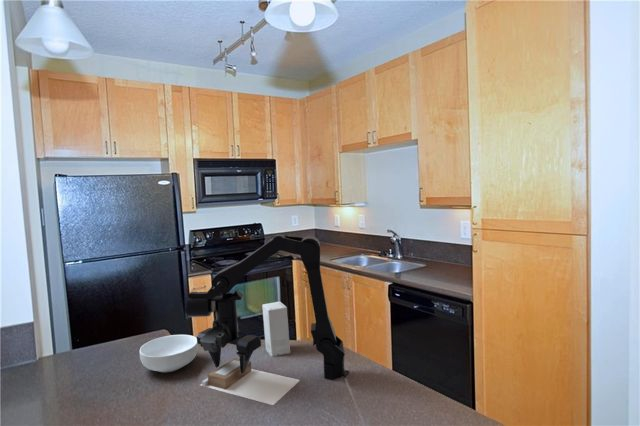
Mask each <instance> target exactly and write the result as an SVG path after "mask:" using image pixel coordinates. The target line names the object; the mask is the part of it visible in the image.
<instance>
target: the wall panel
mask: <svg viewBox="0 0 640 426" xmlns="http://www.w3.org/2000/svg"><path fill="white" fill-rule="evenodd" d="M300 381H301V380H300V379H297V378H293V377H288V376H284V375H279V374H276V373H271V372H266V371H262V370H258V369H253V368H251V372H249V373H248V374H247V375H245V376H244V377H242V378H241V379H240V380H238V381H237V382H235V383H234V384H233V385H231V386H230V387H228V388H227V389H226V390H225V389H221V388H218V387H214V386H210V385H208V377H206V378H205V379H203V380H202V381H201V384H200V386H202V387H204V388H205V387H206V388H208V389H213V390H217V391H220V392H223V393H227V394H231V395H234V396H238V397H242V398H246V399H249V400H252V401H255V402H256V401H257V402H260V403H264V404H267V405H272V406H274V405H276V403H277V402H279V400H281V399H282V398H283V397H284V396H285V395H286V394H287V393H288V392H289V391H290V390H291V389H293V387H294V386H296V385H297V384H298V383H299V382H300Z"/></svg>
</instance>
